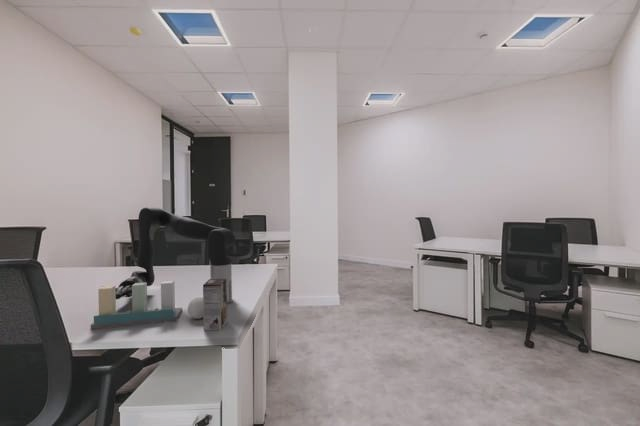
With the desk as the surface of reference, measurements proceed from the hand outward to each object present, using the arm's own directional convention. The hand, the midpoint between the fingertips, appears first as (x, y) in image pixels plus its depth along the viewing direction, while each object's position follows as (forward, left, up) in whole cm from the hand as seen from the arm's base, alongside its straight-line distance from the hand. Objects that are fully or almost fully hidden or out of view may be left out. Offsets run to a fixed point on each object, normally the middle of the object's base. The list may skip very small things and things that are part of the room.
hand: (116, 296), depth 121 cm
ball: (-32, +11, -8) cm, 35 cm away
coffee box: (-39, +21, -8) cm, 45 cm away
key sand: (0, +8, -6) cm, 10 cm away
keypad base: (-10, +6, -8) cm, 14 cm away
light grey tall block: (-20, +6, -6) cm, 22 cm away
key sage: (-10, +6, -6) cm, 13 cm away
